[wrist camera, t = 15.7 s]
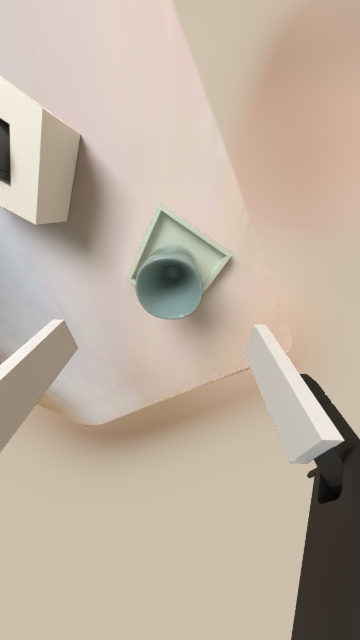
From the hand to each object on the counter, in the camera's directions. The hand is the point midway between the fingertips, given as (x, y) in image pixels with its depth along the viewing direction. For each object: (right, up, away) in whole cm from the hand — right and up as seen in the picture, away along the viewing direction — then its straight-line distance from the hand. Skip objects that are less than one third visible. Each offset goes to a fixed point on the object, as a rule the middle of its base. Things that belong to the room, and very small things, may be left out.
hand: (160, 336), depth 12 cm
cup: (+1, +10, +15) cm, 18 cm away
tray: (+1, +10, +15) cm, 18 cm away
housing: (-17, +21, +8) cm, 28 cm away
